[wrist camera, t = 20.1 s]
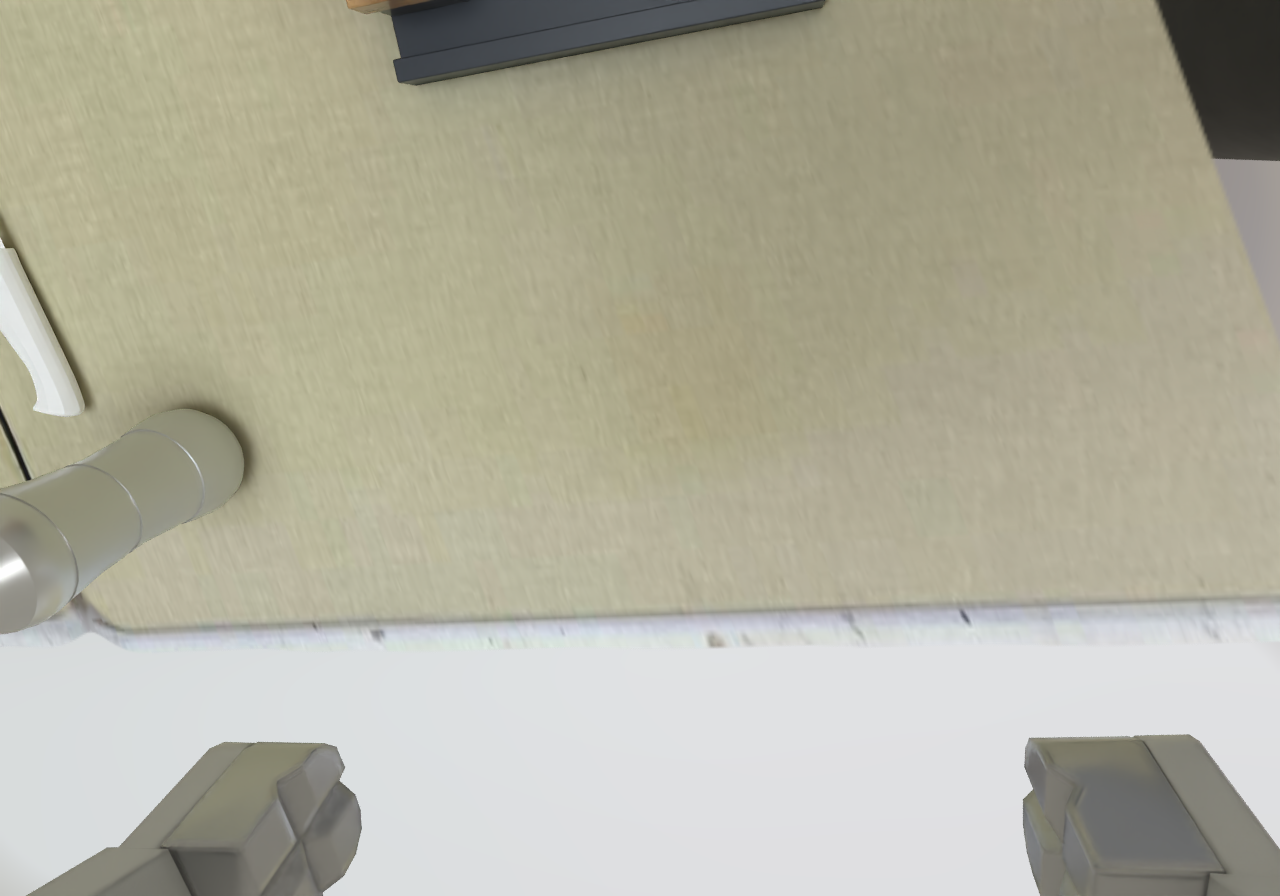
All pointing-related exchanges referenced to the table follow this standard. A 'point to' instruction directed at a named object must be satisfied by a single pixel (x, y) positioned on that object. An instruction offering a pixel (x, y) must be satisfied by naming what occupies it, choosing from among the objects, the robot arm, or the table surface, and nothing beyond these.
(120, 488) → the plastic bottle
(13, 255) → the knife
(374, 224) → the table surface
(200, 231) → the table surface
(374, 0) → the brush
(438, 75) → the tray
